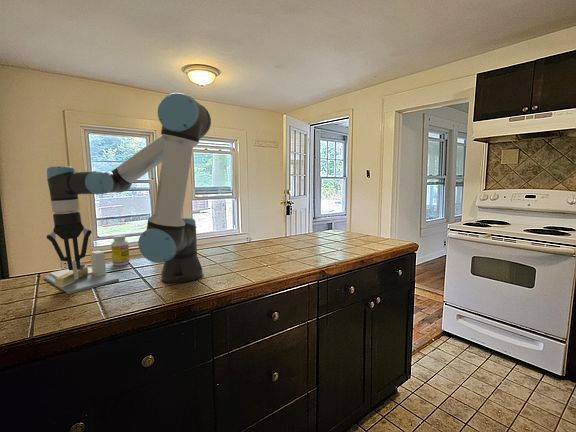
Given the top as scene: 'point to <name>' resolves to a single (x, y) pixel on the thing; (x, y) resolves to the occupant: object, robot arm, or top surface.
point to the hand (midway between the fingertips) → (76, 278)
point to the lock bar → (70, 276)
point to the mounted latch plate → (91, 280)
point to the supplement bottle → (120, 250)
